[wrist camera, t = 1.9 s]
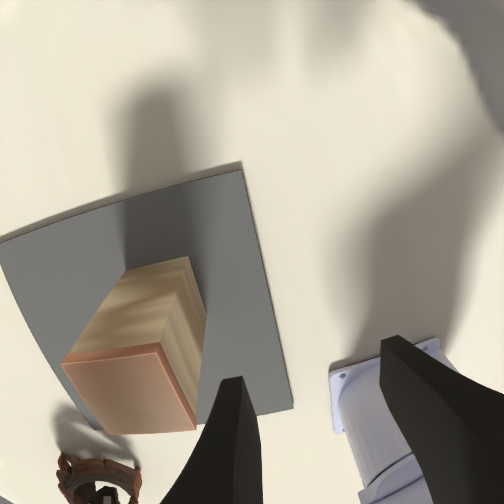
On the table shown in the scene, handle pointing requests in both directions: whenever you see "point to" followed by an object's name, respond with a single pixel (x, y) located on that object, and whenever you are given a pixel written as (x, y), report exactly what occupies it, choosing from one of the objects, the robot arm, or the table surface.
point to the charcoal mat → (150, 252)
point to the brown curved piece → (88, 471)
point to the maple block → (143, 352)
